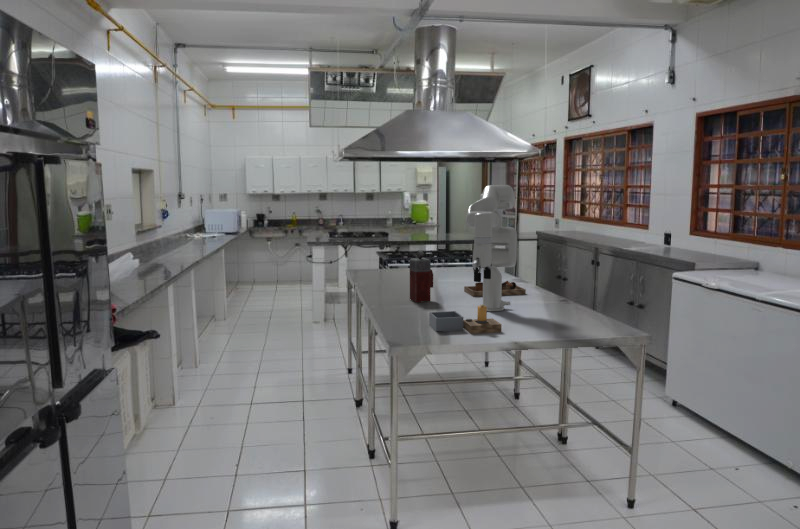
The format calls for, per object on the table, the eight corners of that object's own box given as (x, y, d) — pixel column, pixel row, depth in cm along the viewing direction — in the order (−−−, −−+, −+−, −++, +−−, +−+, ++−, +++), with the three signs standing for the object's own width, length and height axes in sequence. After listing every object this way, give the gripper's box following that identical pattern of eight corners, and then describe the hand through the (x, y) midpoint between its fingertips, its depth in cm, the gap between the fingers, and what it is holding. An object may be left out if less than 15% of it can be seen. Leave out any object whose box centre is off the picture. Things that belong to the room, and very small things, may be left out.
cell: (484, 325, 253) (485, 303, 251) (487, 327, 249) (488, 305, 247) (476, 325, 252) (476, 304, 251) (479, 327, 248) (479, 305, 247)
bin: (455, 323, 262) (455, 311, 261) (463, 330, 250) (463, 317, 249) (429, 325, 259) (429, 312, 259) (436, 331, 247) (436, 318, 247)
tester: (492, 326, 257) (492, 317, 257) (501, 332, 247) (501, 322, 246) (462, 327, 255) (463, 318, 254) (470, 333, 244) (470, 324, 243)
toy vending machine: (434, 301, 313) (434, 250, 310) (415, 302, 309) (415, 251, 306) (427, 298, 322) (427, 249, 318) (409, 299, 318) (409, 250, 314)
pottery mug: (508, 296, 329) (501, 283, 330) (499, 300, 337) (492, 288, 338) (522, 288, 336) (515, 276, 337) (513, 293, 344) (506, 281, 345)
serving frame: (514, 289, 347) (514, 284, 347) (525, 294, 331) (525, 289, 330) (464, 291, 341) (464, 286, 341) (473, 296, 325) (473, 291, 324)
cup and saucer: (490, 291, 340) (490, 281, 340) (493, 295, 328) (493, 285, 328) (470, 291, 341) (470, 281, 340) (472, 295, 329) (472, 285, 328)
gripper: (483, 239, 254) (483, 276, 257) (466, 242, 240) (465, 282, 242) (499, 240, 250) (498, 278, 252) (482, 243, 236) (481, 283, 238)
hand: (482, 280), depth 247 cm, fingers open, 9 cm apart
